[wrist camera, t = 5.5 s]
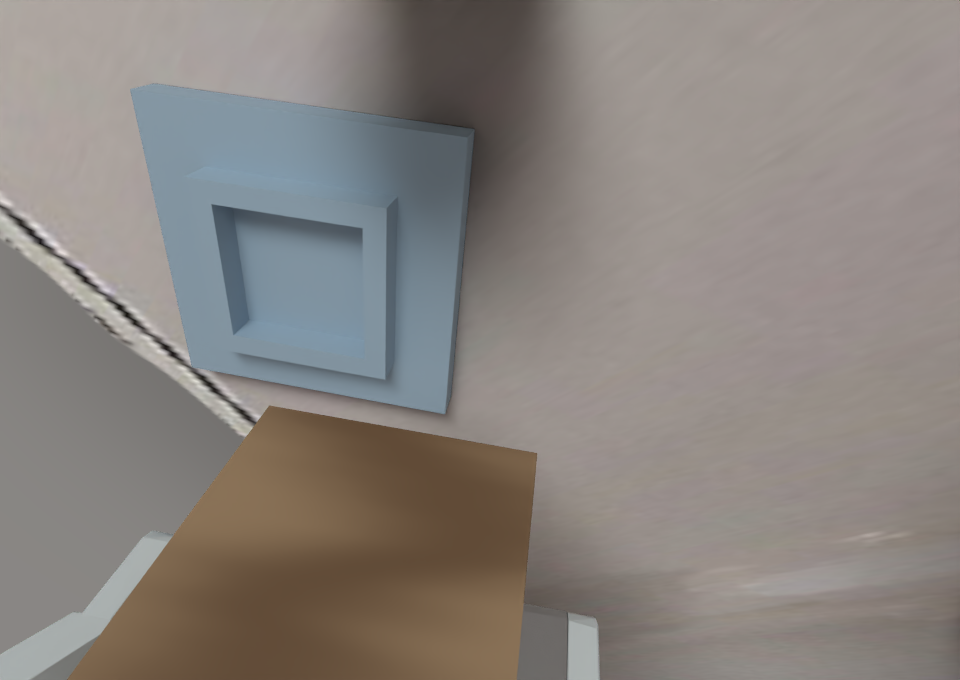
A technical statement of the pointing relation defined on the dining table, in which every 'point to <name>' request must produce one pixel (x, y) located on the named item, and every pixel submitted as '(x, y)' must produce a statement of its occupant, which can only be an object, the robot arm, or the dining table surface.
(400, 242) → the base
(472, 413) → the dining table surface
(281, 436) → the block
